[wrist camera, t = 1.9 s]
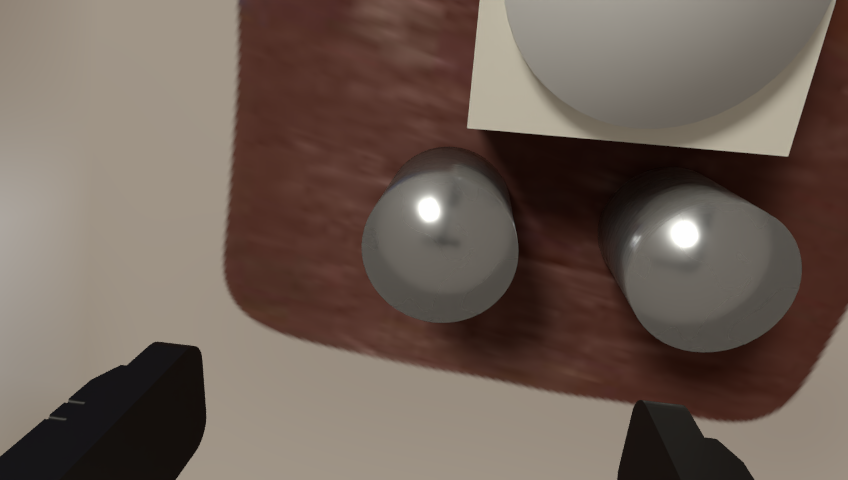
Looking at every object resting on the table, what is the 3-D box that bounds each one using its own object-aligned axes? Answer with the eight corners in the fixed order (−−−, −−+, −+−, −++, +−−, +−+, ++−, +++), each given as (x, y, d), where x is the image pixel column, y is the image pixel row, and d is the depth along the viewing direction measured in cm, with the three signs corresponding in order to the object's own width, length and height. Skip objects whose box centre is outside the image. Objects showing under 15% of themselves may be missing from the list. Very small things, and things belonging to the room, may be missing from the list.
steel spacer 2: (610, 161, 21) (648, 195, 16) (746, 173, 20) (825, 212, 16) (587, 280, 22) (615, 342, 18) (711, 293, 22) (773, 361, 17)
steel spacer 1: (390, 141, 21) (364, 168, 17) (518, 152, 21) (528, 184, 16) (384, 259, 23) (359, 314, 18) (502, 271, 23) (507, 330, 18)
